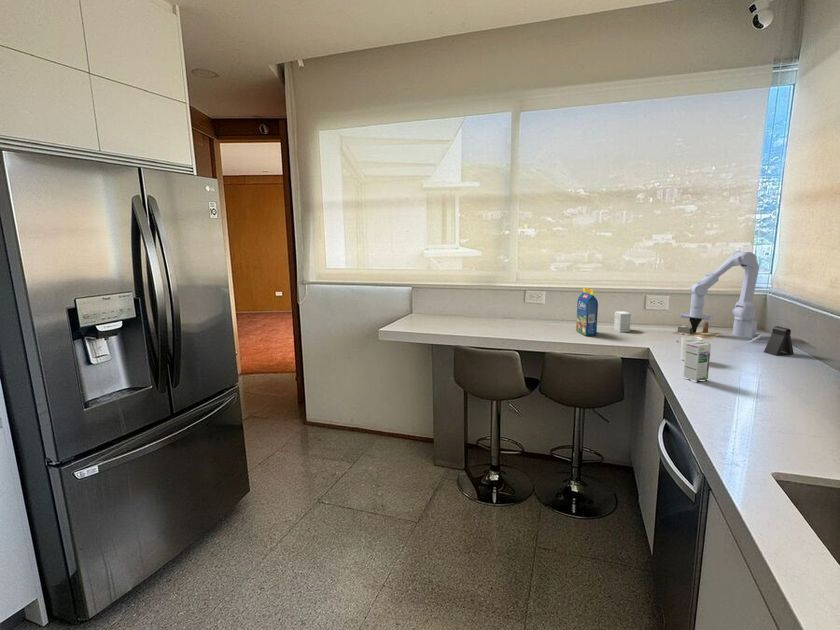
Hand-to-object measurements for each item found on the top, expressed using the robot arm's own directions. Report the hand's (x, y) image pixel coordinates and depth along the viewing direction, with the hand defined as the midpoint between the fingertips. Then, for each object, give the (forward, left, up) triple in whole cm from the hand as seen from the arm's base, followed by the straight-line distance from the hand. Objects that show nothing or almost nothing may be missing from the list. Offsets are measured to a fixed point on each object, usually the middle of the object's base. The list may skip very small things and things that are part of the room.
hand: (694, 332), depth 230 cm
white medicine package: (-15, +47, -2) cm, 50 cm away
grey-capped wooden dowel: (-2, -8, -1) cm, 8 cm away
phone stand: (-37, +8, -2) cm, 38 cm away
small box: (+32, +14, -2) cm, 35 cm away
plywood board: (0, -3, -2) cm, 3 cm away
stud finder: (+5, -1, -1) cm, 5 cm away
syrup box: (-26, +72, -2) cm, 77 cm away
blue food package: (+42, +34, -2) cm, 54 cm away
